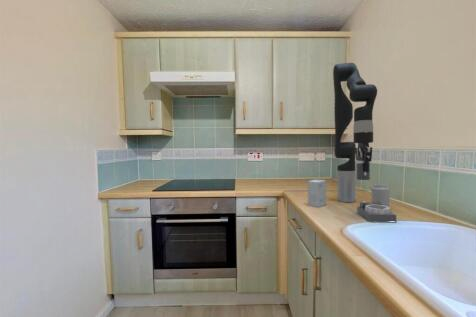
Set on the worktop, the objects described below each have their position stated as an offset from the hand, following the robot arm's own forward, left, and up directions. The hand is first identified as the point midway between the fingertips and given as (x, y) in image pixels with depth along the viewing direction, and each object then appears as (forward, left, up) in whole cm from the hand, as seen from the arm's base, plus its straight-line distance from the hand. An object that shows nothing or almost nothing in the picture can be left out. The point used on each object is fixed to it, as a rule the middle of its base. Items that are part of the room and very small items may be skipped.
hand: (363, 171), depth 103 cm
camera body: (0, +5, -20) cm, 20 cm away
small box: (-22, -15, -20) cm, 33 cm away
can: (-14, +13, -20) cm, 27 cm away
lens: (0, 0, -4) cm, 4 cm away
